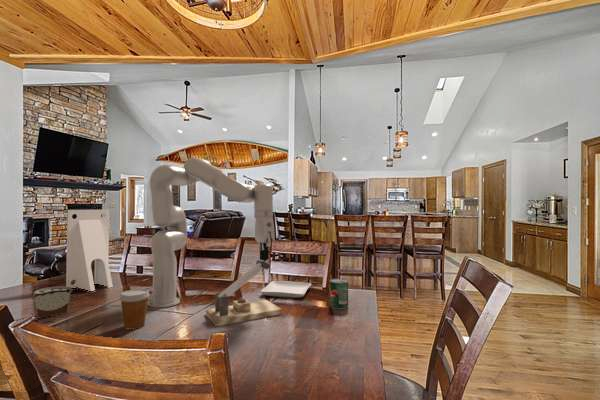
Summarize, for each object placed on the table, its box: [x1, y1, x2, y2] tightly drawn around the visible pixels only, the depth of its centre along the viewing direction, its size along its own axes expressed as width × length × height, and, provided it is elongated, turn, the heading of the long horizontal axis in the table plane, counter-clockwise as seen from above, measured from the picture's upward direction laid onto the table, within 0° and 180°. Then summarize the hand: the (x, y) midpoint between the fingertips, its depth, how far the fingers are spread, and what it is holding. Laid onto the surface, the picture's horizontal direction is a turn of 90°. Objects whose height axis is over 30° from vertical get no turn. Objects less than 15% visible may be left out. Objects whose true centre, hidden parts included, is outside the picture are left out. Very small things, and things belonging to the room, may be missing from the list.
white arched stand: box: [65, 209, 114, 292], centre depth 167 cm, size 20×14×40 cm
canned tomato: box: [329, 278, 349, 310], centre depth 139 cm, size 8×8×11 cm
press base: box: [205, 292, 283, 327], centre depth 127 cm, size 26×14×9 cm, turn 121°
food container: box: [32, 285, 73, 319], centre depth 126 cm, size 12×6×10 cm, turn 134°
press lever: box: [217, 259, 270, 299], centre depth 128 cm, size 23×8×2 cm
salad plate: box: [260, 280, 312, 299], centre depth 160 cm, size 21×21×3 cm
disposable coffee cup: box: [119, 288, 151, 330], centre depth 114 cm, size 10×10×12 cm
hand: (264, 259), depth 132 cm, fingers closed
